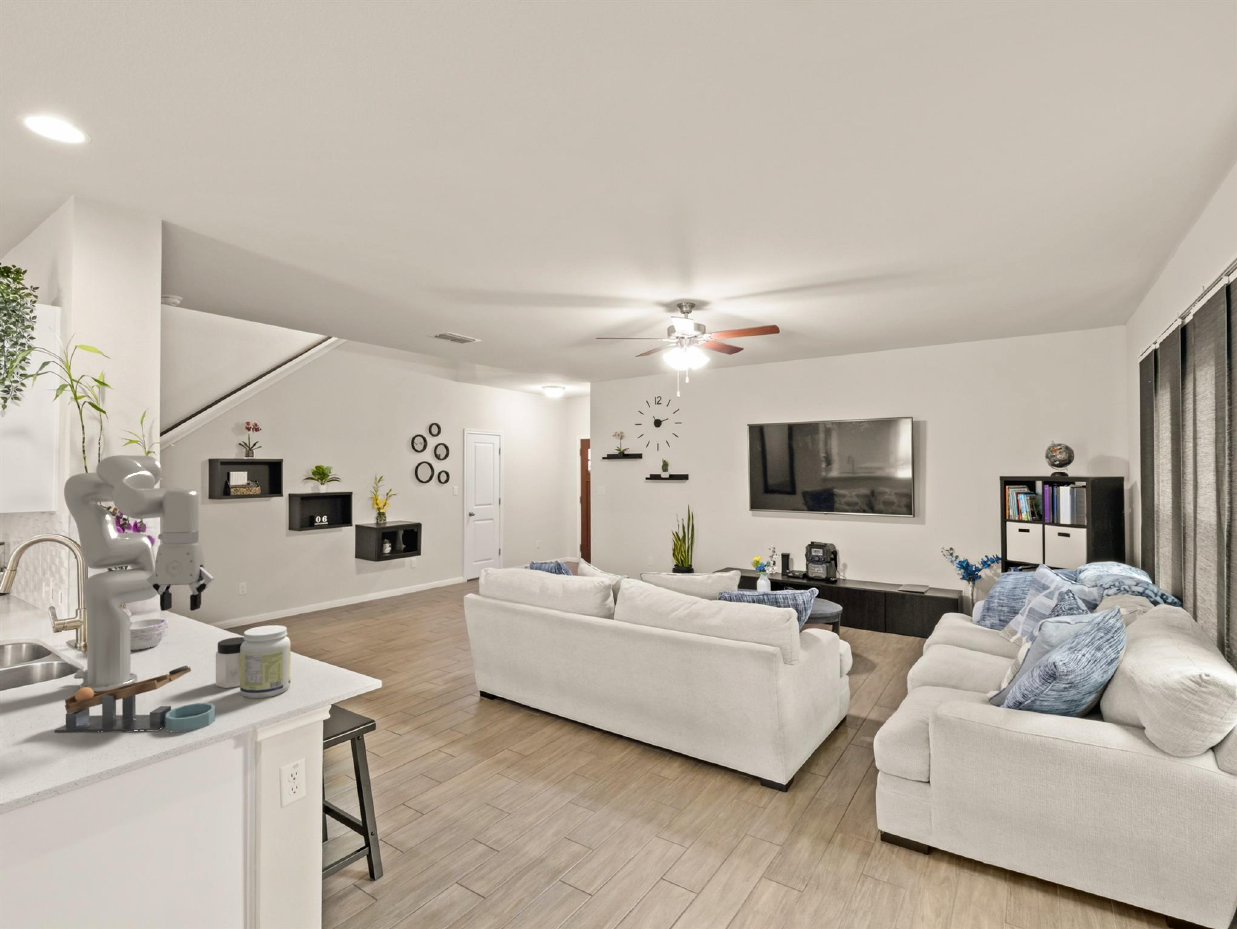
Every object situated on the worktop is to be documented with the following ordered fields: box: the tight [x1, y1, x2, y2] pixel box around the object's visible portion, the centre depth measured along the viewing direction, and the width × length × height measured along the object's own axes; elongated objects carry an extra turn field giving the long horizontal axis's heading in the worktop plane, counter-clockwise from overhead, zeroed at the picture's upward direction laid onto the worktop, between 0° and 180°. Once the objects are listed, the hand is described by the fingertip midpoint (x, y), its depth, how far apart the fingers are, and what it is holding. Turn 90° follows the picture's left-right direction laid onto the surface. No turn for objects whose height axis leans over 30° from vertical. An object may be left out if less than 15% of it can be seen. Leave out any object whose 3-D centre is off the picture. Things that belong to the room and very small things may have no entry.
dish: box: [165, 702, 216, 733], centre depth 155 cm, size 10×10×3 cm
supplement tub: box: [239, 624, 292, 699], centre depth 176 cm, size 12×12×17 cm
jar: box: [215, 636, 245, 689], centre depth 182 cm, size 9×8×12 cm
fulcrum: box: [54, 695, 172, 734], centre depth 154 cm, size 23×8×8 cm, turn 93°
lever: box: [64, 665, 192, 714], centre depth 158 cm, size 22×13×3 cm, turn 93°
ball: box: [74, 687, 95, 701], centre depth 153 cm, size 4×4×4 cm
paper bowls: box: [130, 618, 169, 651], centre depth 217 cm, size 15×15×8 cm
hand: (180, 608), depth 163 cm, fingers open, 6 cm apart
